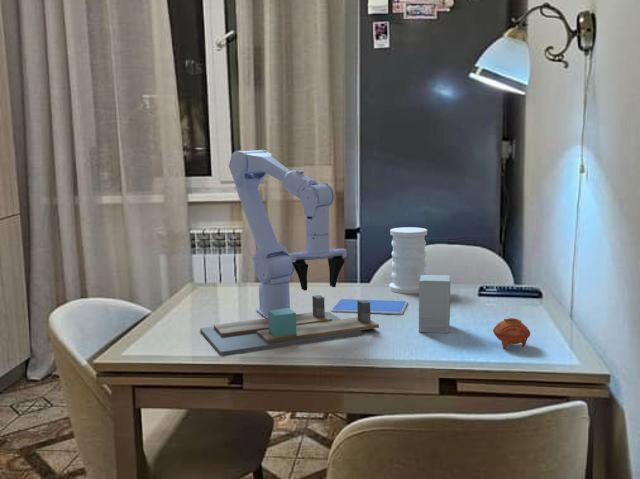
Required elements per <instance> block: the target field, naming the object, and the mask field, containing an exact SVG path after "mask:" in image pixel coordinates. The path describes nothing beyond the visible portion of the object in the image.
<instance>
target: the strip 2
mask: <svg viewBox="0 0 640 479" xmlns="http://www.w3.org/2000/svg"><path fill="white" fill-rule="evenodd" d="M357 300H358V301H357V309H358V313H357V316H356V317H350V318H343V319H341V320H334V321H327V322H319V323H312V324H305V325H297V326H296V334H293V335H286V336H279V337H275V336H274V335H273V334H272V333H271V332H269V329H267V330H260V331H257V335H258V336H260V337H261V338H262V339H263V340H264V341H265V342H266V343H275V342H282V341H289V340H296V339H303V338H310V337H317V336H324V335H331V334H339V333H346V332H353V331H366V330H371V329H378V328H380V324H379V323H377V322H375V321H373V320H372V319H371V314H370V302H368V301H366V300H367V299H357Z"/></svg>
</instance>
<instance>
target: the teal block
mask: <svg viewBox="0 0 640 479" xmlns="http://www.w3.org/2000/svg"><path fill="white" fill-rule="evenodd" d="M296 314H297V313H296V311H294V310H292V309H291V308H290V309H289V308H284V309H276V310H268V316H269V332H271V333H272V334H273V335H274V336H275V337H279V336H286V335H293V334H296Z"/></svg>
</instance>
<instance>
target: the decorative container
mask: <svg viewBox="0 0 640 479" xmlns="http://www.w3.org/2000/svg"><path fill="white" fill-rule="evenodd" d="M389 233H390V236H392V240H391V247H392V251H391V257H392V261H391V267H392V272H391V278H392V282H391V283H389V284H388V286H389V287H388V288H389V291H390V292H393V293H397V294H411V295H412V294H419V280H420V276H421V275H427V274H426V271H425V268H426V266H427V263H426V261H425V259H426V255H427V253H426V248H425V247H426V246H427V242H426V240H425V236H427V235H428V229H427V228H423V227H415V226H413V227H412V226H408V227H407V226H406V227H405V226H404V227H394V228H390V230H389Z"/></svg>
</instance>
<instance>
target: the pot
mask: <svg viewBox="0 0 640 479" xmlns="http://www.w3.org/2000/svg"><path fill="white" fill-rule="evenodd" d="M492 332H493V334H494V336H495V337H496V338H497V339H498V340H499V341H500V342H501V345H502V349H503V350H507V349H508V345H519V344H521V347H525V346H526V344H527V341H528V338H530V336H531V331H530V329H529V328H528V327H527V326H526V324H524V323H523V322H522V320H521V319H518V318H512V317H508V318H504V319H503V320H501V321H500V322H498V323H497V324H496V325H495V326H494V327H493V330H492Z"/></svg>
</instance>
